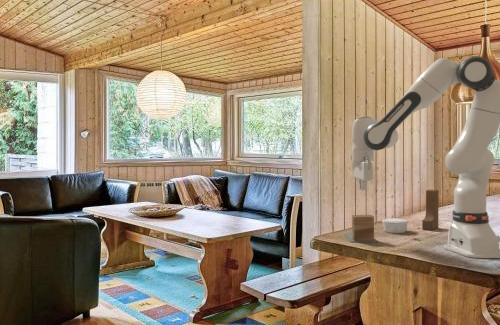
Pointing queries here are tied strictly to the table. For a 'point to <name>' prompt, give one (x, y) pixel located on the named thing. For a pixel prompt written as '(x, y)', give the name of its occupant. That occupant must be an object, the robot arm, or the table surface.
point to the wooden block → (431, 210)
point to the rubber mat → (349, 237)
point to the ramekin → (394, 225)
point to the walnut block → (363, 227)
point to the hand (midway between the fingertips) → (362, 190)
